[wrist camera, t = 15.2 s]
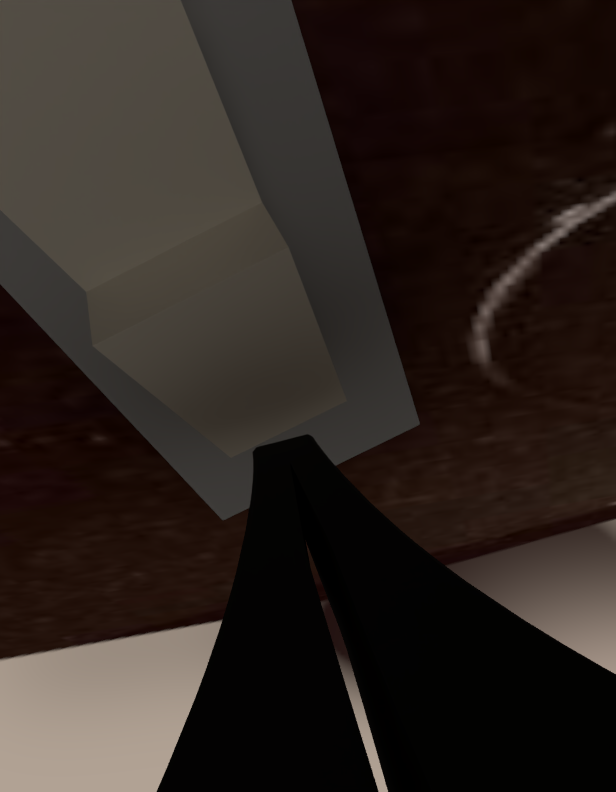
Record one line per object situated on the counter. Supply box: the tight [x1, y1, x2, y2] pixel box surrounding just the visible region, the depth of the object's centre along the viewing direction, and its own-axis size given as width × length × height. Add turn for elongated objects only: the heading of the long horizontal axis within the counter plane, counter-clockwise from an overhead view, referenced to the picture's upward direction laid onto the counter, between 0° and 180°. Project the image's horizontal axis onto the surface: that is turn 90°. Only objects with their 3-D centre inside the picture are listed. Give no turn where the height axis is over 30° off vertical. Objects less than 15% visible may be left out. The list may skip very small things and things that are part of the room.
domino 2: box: [86, 203, 347, 458], centre depth 12 cm, size 2×5×7 cm
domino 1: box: [0, 0, 262, 292], centre depth 9 cm, size 2×5×7 cm
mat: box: [0, 0, 420, 520], centre depth 10 cm, size 10×28×1 cm, turn 23°
